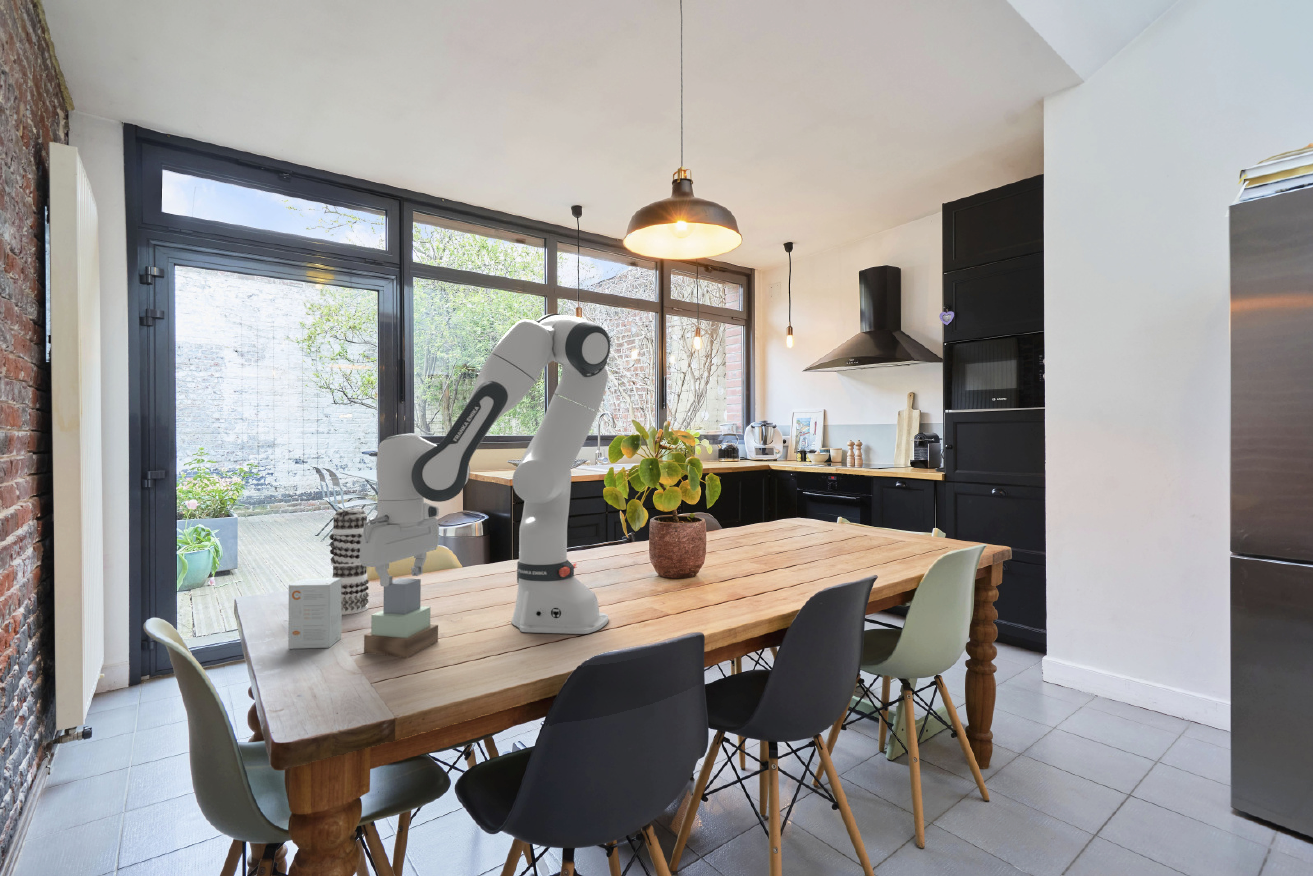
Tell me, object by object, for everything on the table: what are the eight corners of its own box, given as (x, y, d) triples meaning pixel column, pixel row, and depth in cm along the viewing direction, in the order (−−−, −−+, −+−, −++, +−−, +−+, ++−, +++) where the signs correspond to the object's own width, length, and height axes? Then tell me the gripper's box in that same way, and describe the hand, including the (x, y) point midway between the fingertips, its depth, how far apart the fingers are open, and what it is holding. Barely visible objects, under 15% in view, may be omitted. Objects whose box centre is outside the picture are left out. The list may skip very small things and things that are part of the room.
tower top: (430, 626, 129) (430, 607, 129) (406, 638, 121) (406, 617, 121) (396, 623, 131) (396, 604, 131) (371, 634, 123) (371, 614, 123)
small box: (342, 638, 132) (342, 577, 132) (329, 648, 125) (329, 584, 125) (302, 639, 131) (302, 578, 131) (287, 649, 125) (287, 585, 125)
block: (420, 608, 128) (420, 579, 128) (405, 614, 123) (405, 584, 123) (399, 606, 129) (399, 577, 129) (383, 612, 125) (383, 583, 125)
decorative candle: (331, 617, 147) (332, 512, 147) (325, 608, 154) (326, 508, 155) (373, 611, 152) (374, 509, 152) (365, 603, 160) (366, 506, 160)
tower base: (437, 644, 130) (438, 625, 130) (407, 660, 120) (407, 639, 120) (397, 639, 133) (397, 621, 133) (363, 655, 123) (364, 635, 123)
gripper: (378, 519, 116) (379, 593, 116) (443, 507, 135) (445, 570, 135) (350, 519, 117) (351, 592, 117) (419, 507, 137) (420, 569, 137)
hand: (402, 580), depth 127 cm, fingers open, 8 cm apart
